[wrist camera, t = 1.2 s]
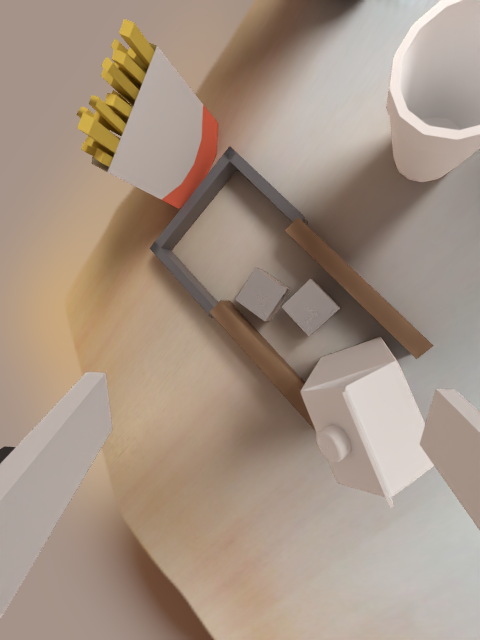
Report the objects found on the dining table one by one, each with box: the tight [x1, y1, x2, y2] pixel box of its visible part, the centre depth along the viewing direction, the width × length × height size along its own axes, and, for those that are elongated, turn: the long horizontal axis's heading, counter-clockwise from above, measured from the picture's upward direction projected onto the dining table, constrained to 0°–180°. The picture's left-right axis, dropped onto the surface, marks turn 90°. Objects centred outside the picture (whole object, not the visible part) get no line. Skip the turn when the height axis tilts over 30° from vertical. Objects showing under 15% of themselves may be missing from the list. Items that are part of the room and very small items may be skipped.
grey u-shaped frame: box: [150, 147, 308, 318], centre depth 40 cm, size 16×13×2 cm
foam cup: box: [386, 0, 480, 182], centre depth 27 cm, size 10×9×13 cm
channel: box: [210, 217, 433, 431], centre depth 37 cm, size 15×19×3 cm
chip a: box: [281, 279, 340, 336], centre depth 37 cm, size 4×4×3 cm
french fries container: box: [77, 19, 218, 209], centre depth 34 cm, size 5×11×18 cm, turn 150°
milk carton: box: [301, 337, 434, 508], centre depth 28 cm, size 7×7×19 cm
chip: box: [235, 268, 291, 322], centre depth 39 cm, size 4×4×3 cm
